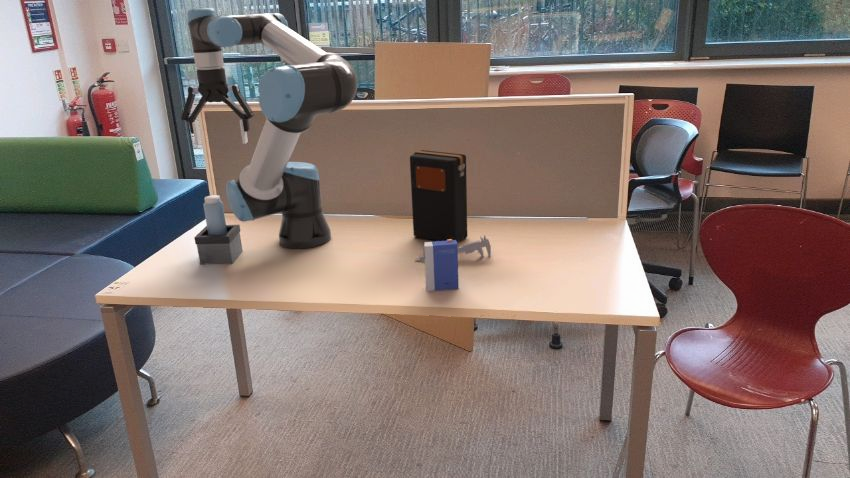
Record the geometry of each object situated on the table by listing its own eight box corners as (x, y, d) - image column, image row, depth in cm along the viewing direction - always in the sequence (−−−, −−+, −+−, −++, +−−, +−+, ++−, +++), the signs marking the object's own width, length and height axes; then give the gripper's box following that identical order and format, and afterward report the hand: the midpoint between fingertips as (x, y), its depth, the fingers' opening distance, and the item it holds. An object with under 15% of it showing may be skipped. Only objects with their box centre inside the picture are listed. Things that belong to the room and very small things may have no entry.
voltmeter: (470, 237, 184) (469, 153, 175) (455, 247, 177) (453, 160, 168) (425, 228, 192) (421, 148, 183) (409, 238, 185) (405, 154, 176)
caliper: (490, 256, 171) (490, 234, 169) (490, 257, 170) (490, 236, 168) (414, 261, 170) (413, 239, 167) (415, 262, 169) (414, 241, 166)
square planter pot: (243, 250, 181) (239, 224, 178) (233, 263, 172) (228, 236, 169) (211, 251, 181) (206, 225, 179) (199, 264, 173) (194, 237, 170)
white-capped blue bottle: (230, 234, 177) (224, 194, 173) (224, 240, 172) (218, 199, 168) (212, 234, 177) (206, 194, 173) (206, 240, 172) (199, 200, 168)
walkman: (456, 284, 155) (455, 238, 150) (458, 289, 152) (457, 242, 148) (425, 286, 154) (423, 240, 150) (426, 291, 151) (424, 245, 147)
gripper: (258, 64, 177) (268, 139, 185) (171, 68, 178) (184, 142, 186) (250, 67, 170) (261, 145, 178) (160, 71, 171) (174, 147, 179)
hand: (222, 143), depth 182 cm, fingers open, 13 cm apart
